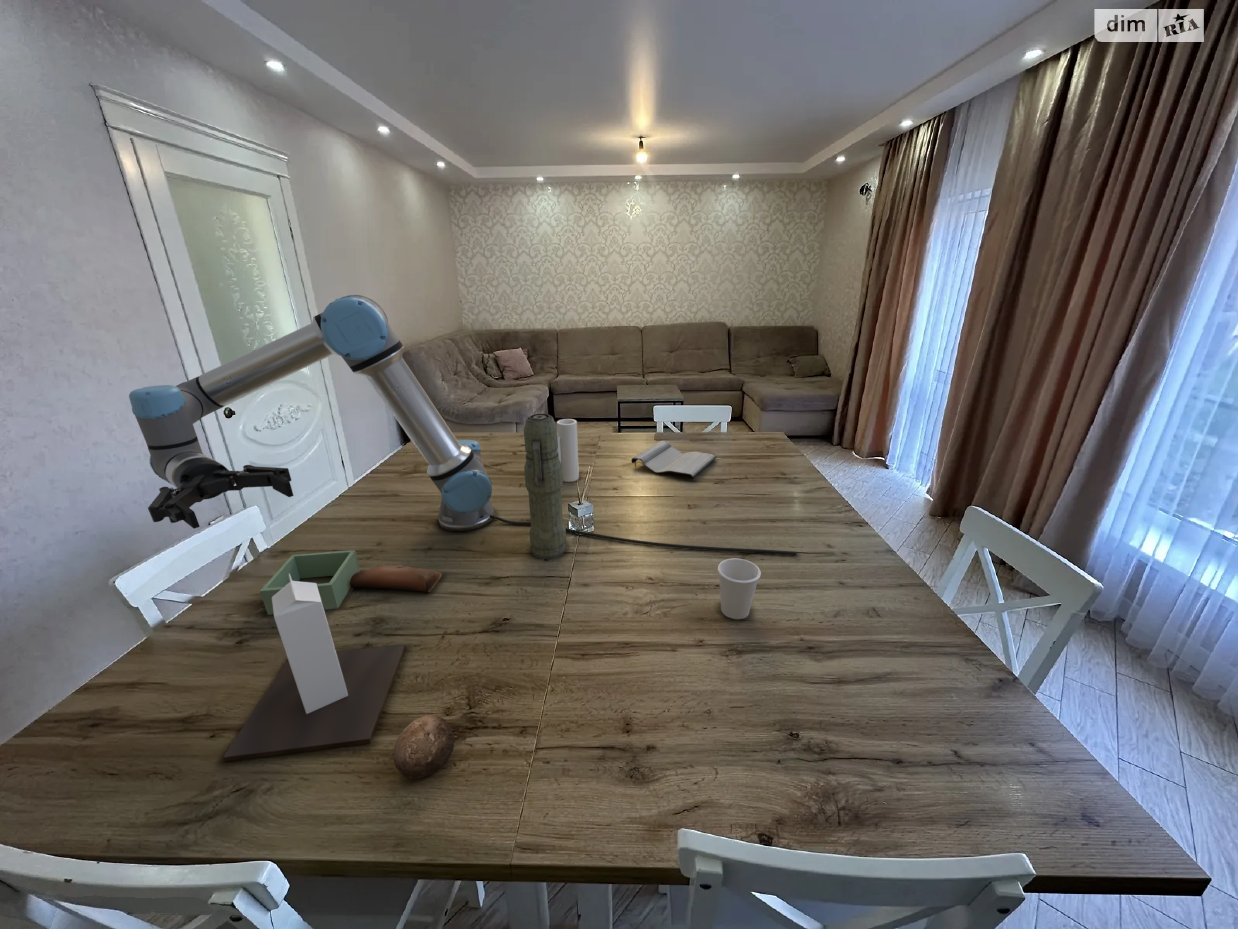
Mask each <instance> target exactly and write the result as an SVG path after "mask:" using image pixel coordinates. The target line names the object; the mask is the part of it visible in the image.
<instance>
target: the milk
mask: <svg viewBox="0 0 1238 929" xmlns="http://www.w3.org/2000/svg"><path fill="white" fill-rule="evenodd" d="M289 577H290V582H289V583H288V584H287V585H286V586H285V587H283V588H282V589H281V590H280V591H279V592H277V593H276V594H275V595H274V596H273V597H272V604H273V612H274V614H273V619H274V622H275V625H276V628H277V631H278V633H279V636H280V639H281V642H282V645H283V648H284V651H285V654H286V658H287V660H288V661H289V664H290V667H291V670H292V673H293V675H294V678H295V681H296V684H297V687H298V690H299V693H300V696H301V699H302V702H303V705H304V708H305V711H306V714H308V713H311V712H313V711H315V710H317V709H320V708H322V707H324V706H326V705H329V704H331V703H333V702H335V701H338V700H340V699H342V698H344V697H347V696H348V693H347V689H346V685H345V682H344V678H343V675H342V671H341V668H340V664H339V661H338V657H337V654H336V651H337V650H336V647H335V644H334V640H333V636H332V633H331V628H330V625H329V623H328V619H327V615H326V611H325V610H324V608H323V605H322V601H321V598H320V594H319V591H318V587H317V584H318V583H317V582H309V581H300V580H299V581H292V579H291V576H290V573H289Z"/></svg>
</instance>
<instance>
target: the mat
mask: <svg viewBox="0 0 1238 929" xmlns="http://www.w3.org/2000/svg"><path fill="white" fill-rule="evenodd" d="M717 458H718V457H717V455H716V454H714V453H713V454H712V453H708V452H702V451H690V452H681V451H680V450H678V449H677V448H675V447H674V446H672V444H671V443H670V442H669V441H667V440H660V441H658V442H657V443H655V444H653V445H652V446H650V447H649V448H646V449H645V450H644V451H642V452H641V453H639V454H637V455H636V456H634V457H631V464H634V466H635V468H637V461H641V462H642V464H643V465H644V466H645V467H647V469H649V470H651V472H654V473H657V474H664V473H673V474H680V475H687V476H691V477H692V479H694V478H695V477H696V476H697V475H698V474H699V473H701V472H702V471H703V470H704V469H706V467H707V466H709V465H710V464H711V463H712V462H714V461H715V460H716V459H717Z"/></svg>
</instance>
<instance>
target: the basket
mask: <svg viewBox="0 0 1238 929" xmlns="http://www.w3.org/2000/svg"><path fill="white" fill-rule="evenodd" d="M360 571H361V569H360V564H359V560H358V556H357V552H356V550H355V549H352V550H351V549H349V550H335V551H326V552H313V553H298V554H291V555H290V557H289V558H288V559H287V560H286V561H284V563H283V564H282V565H281V566H280V568H279V569H278V570H277V571H276V572H275V573H274V574H273V575H272V577H271V578H270V579H269V580H268V581H267V582H266V583H265V584H264V585H263V587H262V588H261V589H260V590H259V593H260V595H261V598H262V601H263V605H264V607H265V610H266V613H267V615H268V616H272V615H273V616H274V612H273V604H272V597H273V596H274V595H275V594H276V593H277V592H279V591H280V590H281V589H282V588H283V587H285V586H286V585H287V584H288V583H289V582H290V577H289V573H290V576H291V579H292V581H300V580H301V579H311V578H322V577H323V578H325V577H332V578H331V580H330V581H329V582H324V583H316V584H317V587H318V591H319V594H320V598H321V601H322V605H323V608H324V611H326V610H327V611H328V610H337V609H339V608H340V606H341V605H342V603H343V601H344V599H345V597H346V596H347V595H348V593H349V591H350V589H351V588H352V587H351V586H350V581H351V577H352V576H353V575H354V574H355V573H357V572H360Z"/></svg>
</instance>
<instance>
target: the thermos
mask: <svg viewBox="0 0 1238 929" xmlns="http://www.w3.org/2000/svg"><path fill="white" fill-rule="evenodd" d="M523 439H524V450H525V452H526V454H525V462H524V466H523V470H524V471H523V472H524V481H525V482H524V484H525V488H526V490H527V494H528V504H529V505H528V506H529V516H530V517H529V518H530V522H531V525H530V529H529V542H530V546H531V553H532V555H533V556H534V557H535V558H539V559H545V560H546V559H554V558H557V557H560V556H562V555H563V554H564V553H565V552H566V549H567V545H566V542H567V531H566V528H567V527H566V524H565V522H564V518H563V517H564V516H563V500H562V488H563V484H564V481H563V480H562V464H561V462H560V459H559V454H558V452H557V449H558V432H557V423H556V421H555V419H554V417H553V415H550V414H547V413H534V414H531V415H529V416H527V417H526V418H525V423H524V427H523Z"/></svg>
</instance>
